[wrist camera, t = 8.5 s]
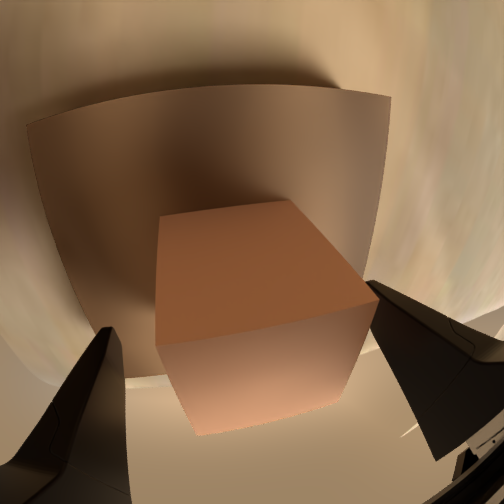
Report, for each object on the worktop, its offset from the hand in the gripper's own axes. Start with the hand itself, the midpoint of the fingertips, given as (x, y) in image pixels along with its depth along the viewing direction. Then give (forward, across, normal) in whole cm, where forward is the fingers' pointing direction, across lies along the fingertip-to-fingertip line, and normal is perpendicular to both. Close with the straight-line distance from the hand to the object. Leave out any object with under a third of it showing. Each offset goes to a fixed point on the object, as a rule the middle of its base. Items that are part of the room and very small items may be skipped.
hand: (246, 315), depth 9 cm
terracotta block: (+3, 0, 0) cm, 3 cm away
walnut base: (+7, 0, 0) cm, 7 cm away
